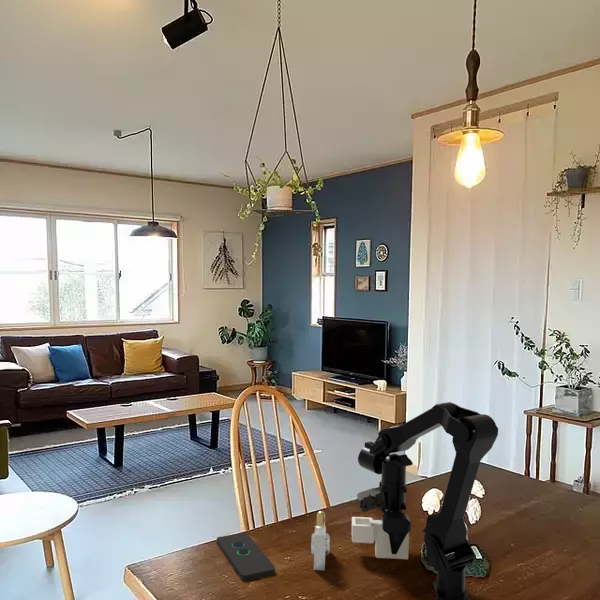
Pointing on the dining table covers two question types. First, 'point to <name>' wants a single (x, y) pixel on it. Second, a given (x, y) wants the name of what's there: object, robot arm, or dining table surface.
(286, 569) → the dining table surface
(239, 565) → the smart home device
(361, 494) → the robot arm
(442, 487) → the dining table surface
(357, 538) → the square loop paddle
